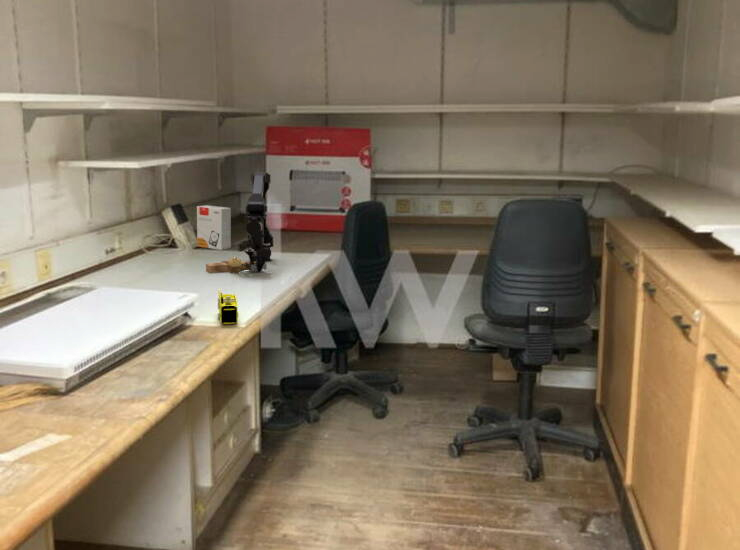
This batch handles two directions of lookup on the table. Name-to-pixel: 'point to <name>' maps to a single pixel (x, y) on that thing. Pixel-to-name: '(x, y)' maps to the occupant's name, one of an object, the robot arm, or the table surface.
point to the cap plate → (254, 265)
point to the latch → (234, 262)
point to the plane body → (225, 267)
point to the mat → (256, 272)
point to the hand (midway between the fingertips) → (256, 270)
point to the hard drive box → (214, 227)
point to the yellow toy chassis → (227, 308)
